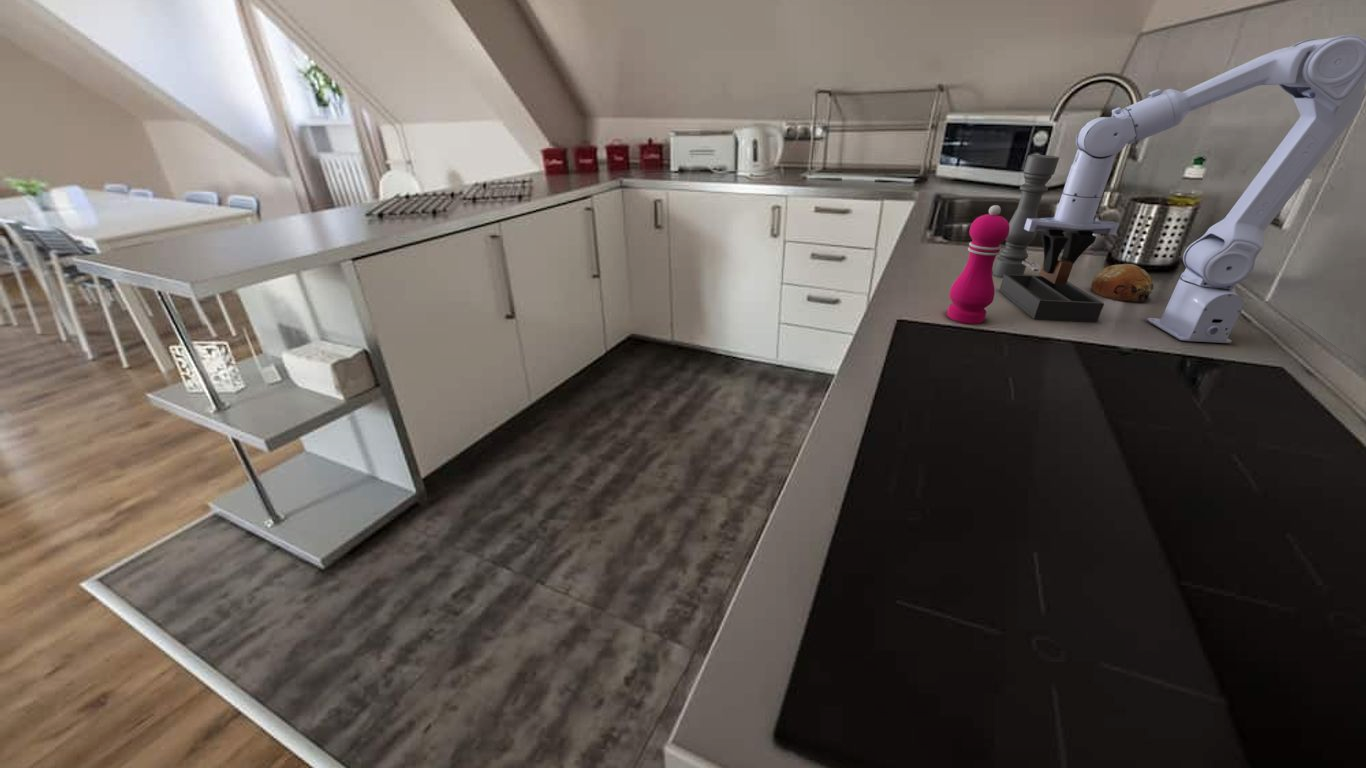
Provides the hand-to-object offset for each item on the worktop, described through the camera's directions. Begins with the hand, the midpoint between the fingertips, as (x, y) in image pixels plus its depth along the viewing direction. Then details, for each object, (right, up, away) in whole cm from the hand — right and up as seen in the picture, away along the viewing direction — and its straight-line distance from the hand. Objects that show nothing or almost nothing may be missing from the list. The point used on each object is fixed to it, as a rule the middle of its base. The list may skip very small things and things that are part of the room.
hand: (1054, 272), depth 102 cm
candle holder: (+6, +4, +24) cm, 25 cm away
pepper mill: (-16, -8, 0) cm, 18 cm away
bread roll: (+22, -2, +13) cm, 26 cm away
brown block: (0, +1, +4) cm, 4 cm away
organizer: (+3, -5, +7) cm, 9 cm away
